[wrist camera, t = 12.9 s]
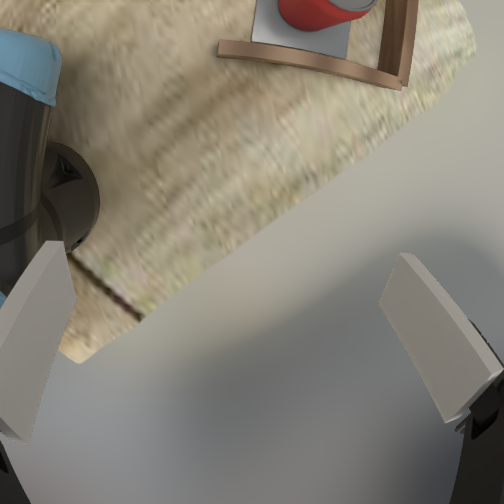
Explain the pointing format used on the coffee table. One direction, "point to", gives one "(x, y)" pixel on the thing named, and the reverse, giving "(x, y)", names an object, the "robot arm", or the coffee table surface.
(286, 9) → the beer can
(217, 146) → the coffee table surface
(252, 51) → the wooden corner frame
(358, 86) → the coffee table surface
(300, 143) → the coffee table surface
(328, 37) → the coaster
